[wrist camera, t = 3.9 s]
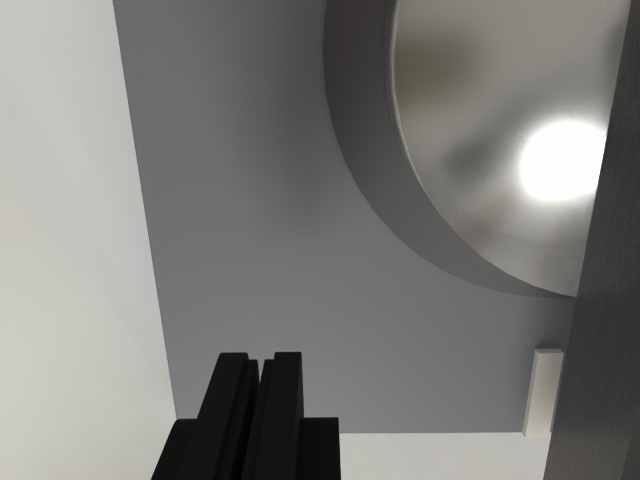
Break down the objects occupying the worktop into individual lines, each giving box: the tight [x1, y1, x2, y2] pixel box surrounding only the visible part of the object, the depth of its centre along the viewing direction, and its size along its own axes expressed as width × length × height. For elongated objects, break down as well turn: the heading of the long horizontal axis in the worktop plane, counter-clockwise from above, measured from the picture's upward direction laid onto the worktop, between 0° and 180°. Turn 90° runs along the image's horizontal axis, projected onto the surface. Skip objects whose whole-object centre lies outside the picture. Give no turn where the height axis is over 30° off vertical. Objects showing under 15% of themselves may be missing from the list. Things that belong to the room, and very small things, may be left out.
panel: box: [113, 0, 577, 438], centre depth 12 cm, size 22×22×2 cm
